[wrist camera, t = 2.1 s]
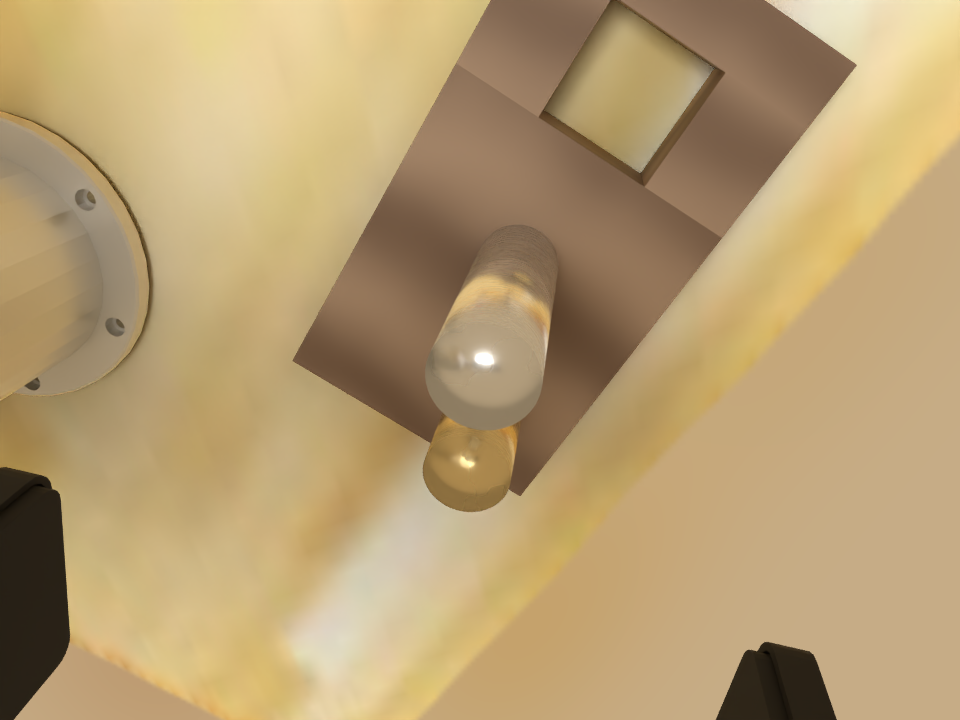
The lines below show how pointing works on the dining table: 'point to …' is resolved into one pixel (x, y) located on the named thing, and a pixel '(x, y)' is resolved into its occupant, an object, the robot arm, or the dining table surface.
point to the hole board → (564, 202)
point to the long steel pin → (496, 333)
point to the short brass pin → (470, 465)
